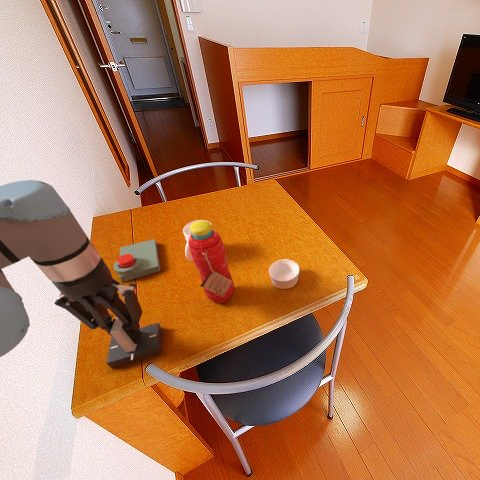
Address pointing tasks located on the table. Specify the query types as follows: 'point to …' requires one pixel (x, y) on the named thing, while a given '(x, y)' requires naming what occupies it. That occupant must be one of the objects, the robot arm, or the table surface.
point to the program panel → (144, 348)
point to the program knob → (122, 336)
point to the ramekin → (284, 273)
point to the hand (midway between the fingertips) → (132, 339)
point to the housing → (139, 260)
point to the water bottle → (211, 261)
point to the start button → (126, 261)
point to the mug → (187, 235)
